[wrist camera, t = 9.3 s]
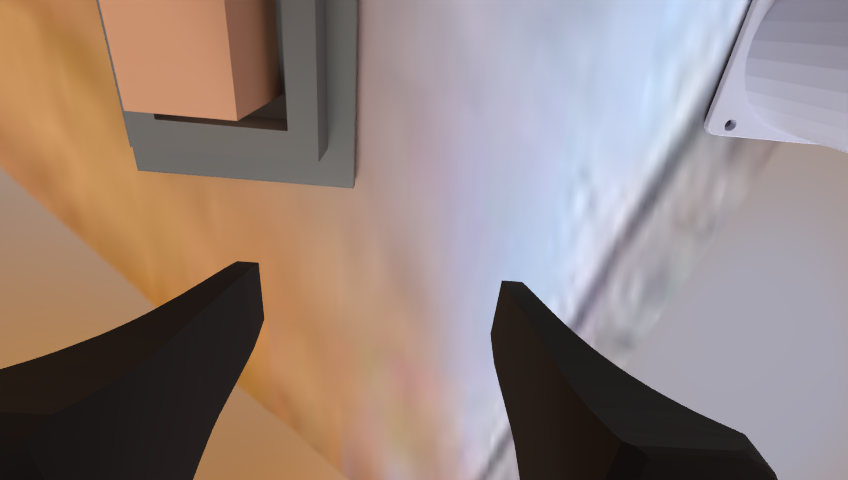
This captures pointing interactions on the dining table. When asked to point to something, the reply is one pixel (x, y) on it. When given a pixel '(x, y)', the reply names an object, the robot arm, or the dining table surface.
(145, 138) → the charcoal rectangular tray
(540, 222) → the dining table surface
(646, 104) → the dining table surface
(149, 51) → the terracotta bar
